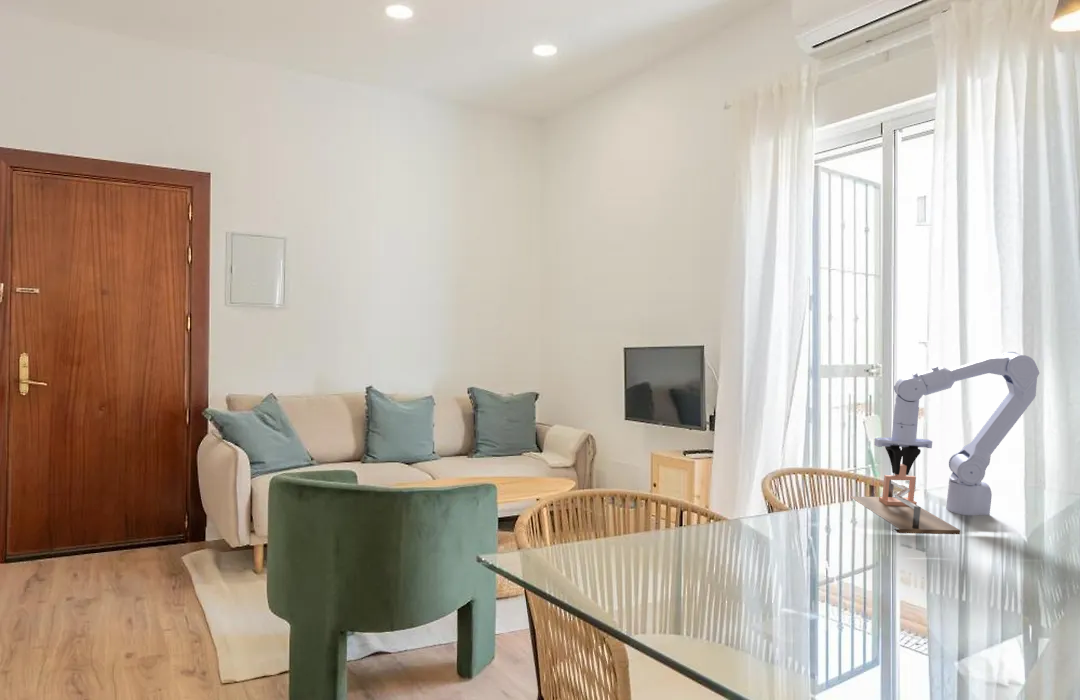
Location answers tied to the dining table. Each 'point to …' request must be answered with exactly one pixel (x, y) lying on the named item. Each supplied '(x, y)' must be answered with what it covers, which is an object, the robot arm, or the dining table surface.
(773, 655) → the dining table surface
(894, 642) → the dining table surface
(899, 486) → the bent wire
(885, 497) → the frame
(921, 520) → the base board
